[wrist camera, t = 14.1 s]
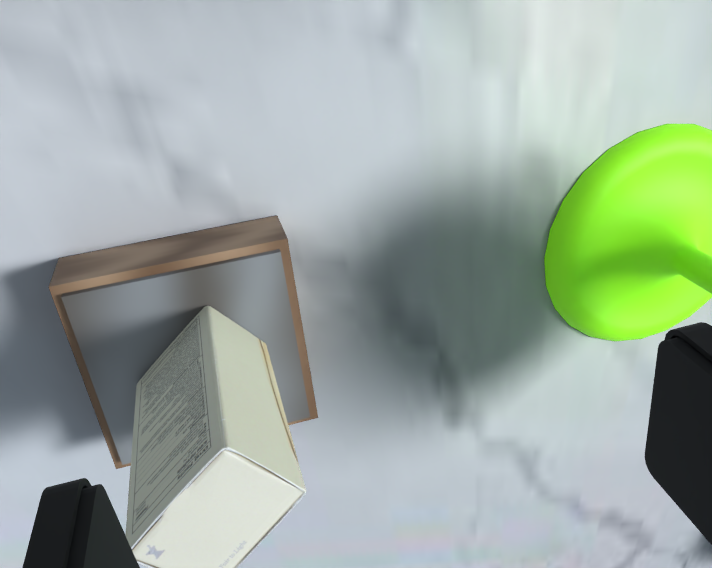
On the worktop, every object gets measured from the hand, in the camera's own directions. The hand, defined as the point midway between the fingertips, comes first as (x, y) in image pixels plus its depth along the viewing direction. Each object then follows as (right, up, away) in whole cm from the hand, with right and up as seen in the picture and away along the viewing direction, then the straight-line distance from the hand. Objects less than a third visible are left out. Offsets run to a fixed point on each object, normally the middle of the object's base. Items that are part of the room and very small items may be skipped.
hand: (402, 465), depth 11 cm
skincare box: (-9, -1, +25) cm, 27 cm away
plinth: (-10, 0, +28) cm, 30 cm away
